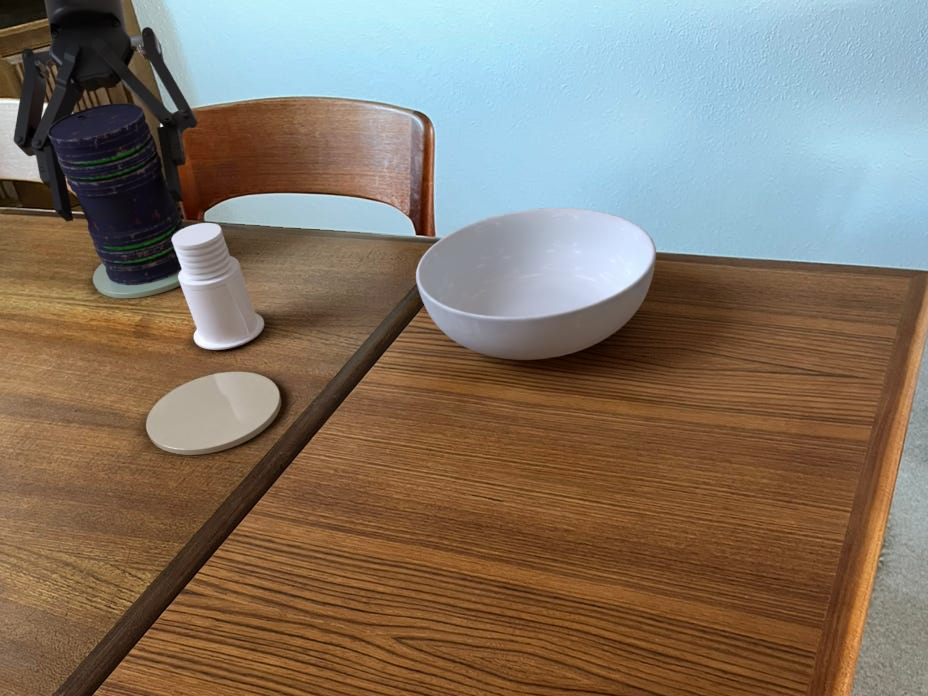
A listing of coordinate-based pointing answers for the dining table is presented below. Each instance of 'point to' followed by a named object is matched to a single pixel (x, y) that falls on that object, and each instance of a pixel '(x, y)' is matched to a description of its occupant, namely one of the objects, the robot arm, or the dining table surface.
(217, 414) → the near coaster
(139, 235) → the storage jar
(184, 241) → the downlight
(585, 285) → the serving bowl
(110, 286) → the far coaster
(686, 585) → the dining table surface
